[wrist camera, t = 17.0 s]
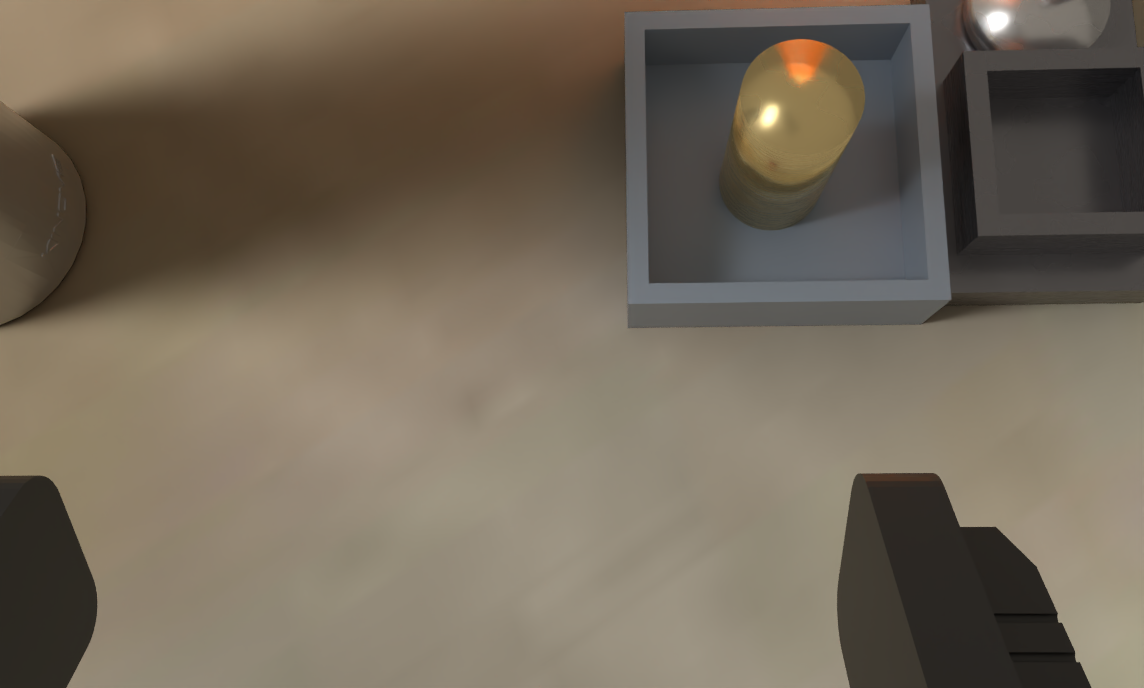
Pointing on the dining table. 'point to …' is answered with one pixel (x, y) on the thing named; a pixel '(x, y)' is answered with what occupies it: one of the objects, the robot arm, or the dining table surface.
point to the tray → (845, 207)
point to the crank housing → (1041, 149)
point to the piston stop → (789, 132)
